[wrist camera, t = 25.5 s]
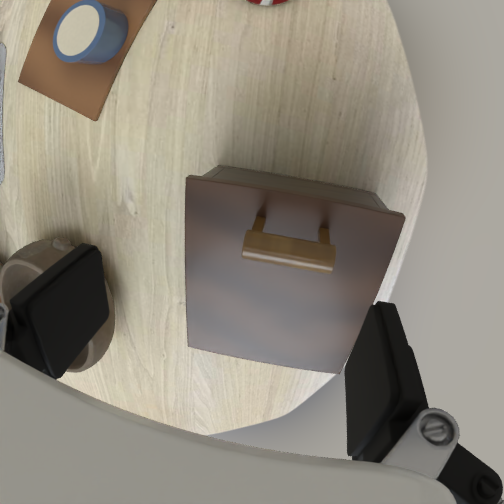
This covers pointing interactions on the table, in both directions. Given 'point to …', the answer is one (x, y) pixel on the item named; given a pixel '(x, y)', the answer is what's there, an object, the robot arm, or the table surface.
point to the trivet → (77, 74)
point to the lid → (281, 271)
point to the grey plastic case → (0, 68)
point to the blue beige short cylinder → (90, 33)
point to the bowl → (34, 264)
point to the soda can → (267, 2)
